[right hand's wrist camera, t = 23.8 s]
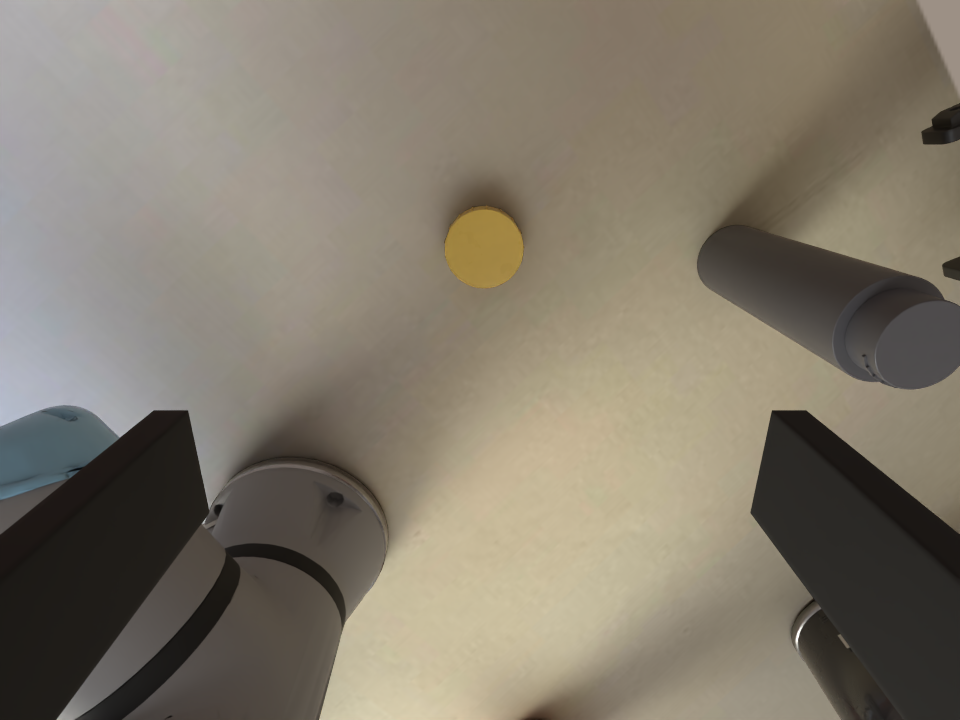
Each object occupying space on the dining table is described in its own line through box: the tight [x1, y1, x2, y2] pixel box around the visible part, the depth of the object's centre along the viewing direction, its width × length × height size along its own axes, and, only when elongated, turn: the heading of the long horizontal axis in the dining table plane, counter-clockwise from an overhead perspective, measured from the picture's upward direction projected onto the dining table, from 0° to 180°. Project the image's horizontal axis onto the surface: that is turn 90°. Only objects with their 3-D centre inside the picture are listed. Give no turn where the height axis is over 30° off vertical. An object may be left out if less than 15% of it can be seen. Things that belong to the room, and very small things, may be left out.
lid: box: [444, 205, 524, 288], centre depth 39 cm, size 6×6×2 cm
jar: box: [697, 225, 960, 389], centre depth 31 cm, size 5×5×19 cm
